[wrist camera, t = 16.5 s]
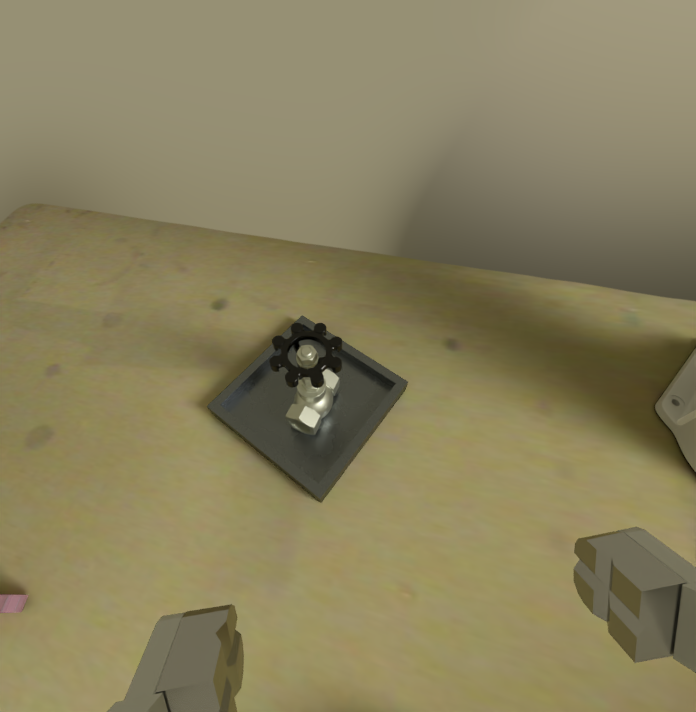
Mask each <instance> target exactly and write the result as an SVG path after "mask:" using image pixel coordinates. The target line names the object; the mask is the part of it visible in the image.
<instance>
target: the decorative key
mask: <svg viewBox="0 0 696 712" xmlns="http://www.w3.org/2000/svg"><path fill="white" fill-rule="evenodd" d="M27 598H28V595H18V594H0V613H11V612H22V610H23V608H24V605H25V603H26V600H27Z"/></svg>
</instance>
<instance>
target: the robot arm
mask: <svg viewBox="0 0 696 712" xmlns="http://www.w3.org/2000/svg"><path fill="white" fill-rule="evenodd" d="M655 410H656V412H657V414H658V415H659V417H660V418H661V419H662V420H663V421H664V423H665V424H666V425H667V426H668V427H669V428H670V429H671V430H672V432H673V433H674V435H675V437H676V439H677V441H678V444H679V446H680V448H681V450H682V452H683V454H684V456H685V458H686V459H687V461H688V462H689V464H690V465H691V467H692V468H693V469H694V471H695V472H696V348H695V350H694V351H693V352H692V354H691V355H690V357H689V358H688V359H687V361H686V362H685V364H684V365H683V366H682V368H681V369H680V371H679V372H678V373H677V375H676V376H675V378H674V379H673V380H672V382H671V383H670V385H669V386H668V387H667V389H666V390H665V392H664V393H663V394H662V396H661V397H660V399H659V400H658V401H657V403H656V405H655ZM574 553H575V554H576V555H577V557H578V558H579V559H580V560H579V561H578V563H577V564H576V566H575V567H574V583H575V586H576V589H577V592H578V594H579V596H580V597H581V599H582V601H583V603H584V604H585V605H586V606H587V608H588V609H589V610H590V611H591V612H592V614H594V615H596V616H597V617H599V618H601V619H603V620H605V621H607V625H608V632H609V634H610V635H611V636H612V637H613V638H614V639H615V640H616V642H617V643H618V644H619V645H620V646H621V647H622V649H623V650H624V651H625V652H626V653H627V654H628V656H629V657H630V658H631V659H632V660H633V661H634V662H635V663H636V662H642V661H647V660H652V659H658V658H663V657H668V656H673V658H674V659H675V660H677V661H678V662H680V663H681V664H683V665H684V666H686V667H688V668H689V669H691V670H692V671H694V672H695V673H696V567H694V566H693V565H692V564H690V563H689V562H688V561H686V560H685V559H684V558H682V557H681V556H679V555H678V554H677V553H675V552H674V551H673V550H671V549H670V548H669V547H667V546H666V545H665V544H663V543H662V542H661V541H659V540H658V539H657V538H655V537H654V536H652V535H651V534H650V533H648V532H647V531H646V530H644V529H641V528H639V527H633V528H628V529H623V530H618V531H616V532H609V533H604V534H599V535H594V536H589V537H584V538H579V539H578V540H577V541H576V543H575V550H574ZM236 623H237V614H236V610H235V606H234V605H232V604H231V605H225V606H219V607H212V608H206V609H200V610H194V611H187V612H185V613H178V614H172V615H166V616H162V617H161V618H160V619H159V621H158V622H157V623H156V625H155V628H154V630H153V632H152V635H151V637H150V639H149V642H148V644H147V647H146V649H145V651H144V654H143V656H142V658H141V661H140V663H139V666H138V668H137V670H136V673H135V675H134V677H133V680H132V682H131V685H130V687H129V689H128V692H127V694H126V696H125V699H124V700H123V701H119V702H116V703H115V704H114V705H113V706H112V707H111V708H110V709H109V710H108V711H107V712H237V708H236V704H235V699H234V697H235V696H236V695H237V693H238V692H239V690H240V689H241V685H242V678H243V665H244V652H243V642H242V637H241V634H240V633H239V632H238V631H236V630H235V628H236Z"/></svg>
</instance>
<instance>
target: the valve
mask: <svg viewBox="0 0 696 712" xmlns="http://www.w3.org/2000/svg"><path fill="white" fill-rule="evenodd" d="M291 333H292V336H291V337H289V338H288V339H285V338H284V337H282V336H276V337H274V338H273V340H272V343H273V347H274V349H275V350H276V351H278V349H281V354H280V355H279V356H273V357H271V358H270V360H269V364H270V367H271V369H272V370H273V371H274V372H279V369H280V368H281V367H285V368H286V369H287V370H288V371H289V372H287V373H286V375H285V381H286V384H287V386H289V387H292V388H293V387H296V386H297V392H296V394H295V397H294V404H292V405H291V407H290V409H289V410H288V412H287V414H286V416H285V418H286V422H287V423H288V424H289V425H290V426H291V427H293V428H294V429H296V430H298V431H300V432H302V433H305V434H309V435H315V434H316V432H317V430H318V428H319V426H320V424H321V419H322V418H323V417H325V416H326V415H327V414H328V413H329V411H330V410H331V407H332V405H333V397H334V396H335V394H336V392H337V390H338V388H339V385H340V379H339V377H338V376H337V375H336V374H334V373H338V372H340V371H341V369H342V360H341V359H340V358H339V357H333V356H332V352H333V351H334V350H337V351H338V352H340V351H341V350H342V339H341V338H339V337H333V338H331V339H330V340H329V339H326V338H325V337H324V336H326V334H327V332H326V326H325V325H324V324H323V323H318V324H316V325H315V326H314V330H313V331H304V330H303V325H302V324H301V323H294V324H292V325H291ZM302 340H314V341H317V342H319V343H320V344H321V345H322V346H323V347H324V349H325V351H326V355H325V357H320V358H319V357H318V353H317V351H316V350H315V349H314V347H313V346H312V345H303V346H301V347H300V344H299V341H302ZM292 346H293V347H294V349H295V351H296V355H297V356H296V361H297V366H298V367H296V366H294V365H293V364H292V363H291V362H290V361H289V359H288V352H289V350H290V348H291V347H292ZM327 368H330V369H332V371H330V370H328V369H327Z"/></svg>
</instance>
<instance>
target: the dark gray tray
mask: <svg viewBox="0 0 696 712" xmlns="http://www.w3.org/2000/svg"><path fill="white" fill-rule="evenodd" d="M295 323H301V324H302V325H303V330H304V331H313V330H314V326H315V325H316V324H315V323H313V322H312V321H310V320H309V319H307V318H306V317H304V316H301V317H300V318H299V319H298V320H297V321H296V322H295ZM326 332H327V334H326V336H324V337H325V338H326V339H329V340H330V339H331V338H333V337H336V336H334V335H333V334H331V333H329V332H328V331H326ZM281 336H282V337H284V338H285V339H288V338H289V337H291V336H292V333H291V326H290V327H289V328H288V329H287V330H286V331H285V332H284V333H283V334H282V335H281ZM299 344H300V347H301V346H303V345H312V346H313V347H314V349H315V350H316V351H317V353H318V357H319V358H320V357H325V355H326V351H325V349H324V347H323V346H322V345H321V344H320V343H319V342H317V341H314V340H302V341H299ZM280 354H281V349H278V351H276V350H275V349H274V347H273V344H272V345H271V346H270V347H268V348H267V349H266V350H265V351H264V352H263V353H262V354H261V355H260V356H259V357H258V358H257V359H256V360H255V361H254V362H253V363H252V364H251V365H250V366H249V367H248V368H246V369H245V370H244V371H243V372H242V373H241V374H240V375H239V376H238V377H237V378H236V379H235V380H234V381H233V382H232V383H231V384H230V385H229V386H228V387H227V388H226V389H224V390H223V391H222V392H221V393H220V394H219V395H218V396H217V397H216V398H215V399H214V400H213V401H212V402H211V403H210V404H209V405H208V406H207V407H208V409H209V410H210V411H211V413H212V414H213V415H214V416H216V417H217V418H218V419H219V420H220V421H222V422H223V423H224V424H225V425H227V426H228V427H229V428H230V429H231V430H233V431H234V432H235V433H236V434H238V435H239V436H240V437H241V438H242V439H244V440H245V441H246V442H247V443H249V444H250V445H251V446H252V447H253V448H255V449H256V450H257V451H258V452H260V453H261V454H262V455H263V456H264V457H266V458H267V459H268V460H269V461H271V462H272V463H273V464H274V465H275V466H277V467H278V468H279V469H280V470H282V471H283V472H284V473H285V474H286V475H288V476H289V477H290V478H291V479H292V480H294V481H295V482H296V483H297V484H299V485H300V486H301V487H302V488H303V489H305V490H306V491H307V492H308V493H310V494H311V495H312V496H313V497H314V498H316V499H317V500H318V501H319V502H322V501H323V500H324V498H325V497H326V496H327V494H328V493H329V492H330V490H331V489H332V488H333V486H334V485H335V484H336V482H337V481H338V480H339V478H340V477H341V476H342V474H343V473H344V472H345V470H346V469H347V467H348V466H349V465H350V463H351V462H352V461H353V459H354V458H355V457H356V455H357V454H358V453H359V451H360V450H361V449H362V447H363V446H364V445H365V443H366V442H367V441H368V439H369V438H370V437H371V435H372V434H373V433H374V431H375V430H376V429H377V427H378V426H379V425H380V423H381V422H382V421H383V419H384V418H385V417H386V415H387V414H388V412H389V411H390V410H391V408H392V407H393V406H394V404H395V403H396V402H397V400H398V399H399V398H400V396H401V395H402V394H403V392H404V391H405V390H406V386H407V383H408V382H407V381H406V380H404V379H403V378H401V377H399V376H398V375H396V374H395V373H393V372H391V371H390V370H388V369H387V368H385V367H383V366H382V365H380V364H379V363H377V362H376V361H374V360H372V359H371V358H369V357H368V356H366V355H364V354H363V353H361V352H360V351H358V350H356V349H355V348H353V347H352V346H350V345H348V344H347V343H345V342H344V341H342V350H341V351H340V352H338V351H337V350H334V351H333V352H332V356H333V357H339V358H340V359H341V360H342V369H341V371H340V372H338V373H334V374H336V375H337V376H338V377H339V379H340V385H339V388H338V390H337V392H336V394H335V396H334V397H333V405H332V407H331V410H330V411H329V413H328V414H327V415H326V416H325V417H323V418H322V419H321V424H320V426H319V428H318V430H317V432H316V434H315V435H309V434H305V433H302V432H300V431H298V430H296V429H294V428H293V427H291V426H290V425H289V424H288V423H287V422H286V418H285V416H286V414H287V412H288V410H289V409H290V407H291V405H292V404H294V397H295V394H296V392H297V386H296V387H293V388H292V387H289V386H287V384H286V381H285V375H286V373H287V372H289V371H288V370H287V369H286V368H285V367H281V368H280V369H279V372H274V371H273V370H272V369H271V367H270V364H269V360H270V358H271V357H273V356H279V355H280ZM296 356H297V355H296V351H295V349H294V347H293V346H292V347H291V348H290V350H289V352H288V359H289V361H290V362H291V363H292V364H293V365H294V366H296V367H298V366H297V361H296ZM327 369H328V370H330V371H332V369H330V368H327Z"/></svg>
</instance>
